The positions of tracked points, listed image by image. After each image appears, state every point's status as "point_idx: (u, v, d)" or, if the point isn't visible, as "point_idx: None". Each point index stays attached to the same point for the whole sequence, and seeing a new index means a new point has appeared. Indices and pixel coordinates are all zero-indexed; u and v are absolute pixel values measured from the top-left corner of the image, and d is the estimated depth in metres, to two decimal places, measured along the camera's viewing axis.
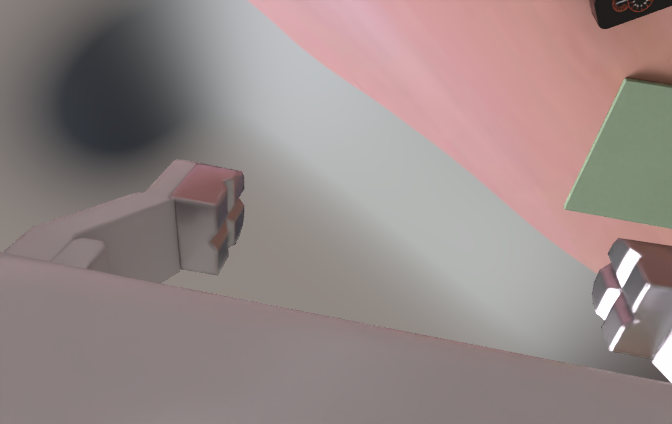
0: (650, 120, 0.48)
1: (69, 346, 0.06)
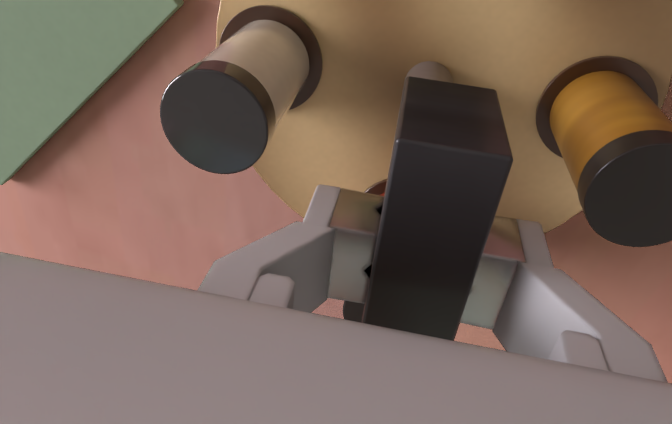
0: None
1: (69, 346, 0.06)
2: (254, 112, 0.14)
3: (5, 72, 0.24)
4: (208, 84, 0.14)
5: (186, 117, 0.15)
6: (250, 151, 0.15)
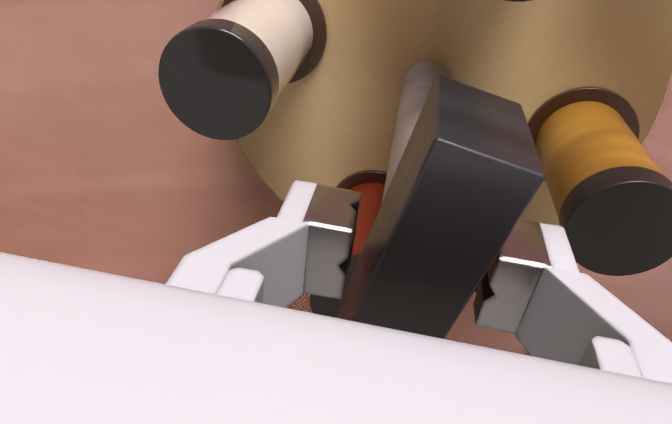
0: None
1: (69, 346, 0.06)
2: (260, 81, 0.14)
3: None
4: (217, 44, 0.14)
5: (187, 74, 0.14)
6: (248, 120, 0.15)
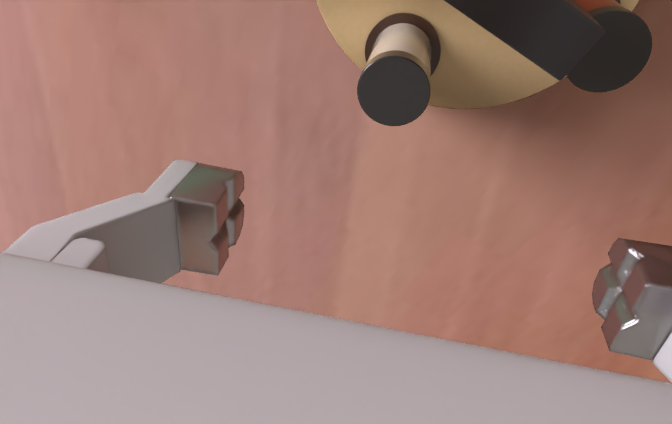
0: None
1: (69, 346, 0.06)
2: (397, 62, 0.22)
3: None
4: (369, 79, 0.23)
5: (381, 105, 0.23)
6: (420, 80, 0.22)
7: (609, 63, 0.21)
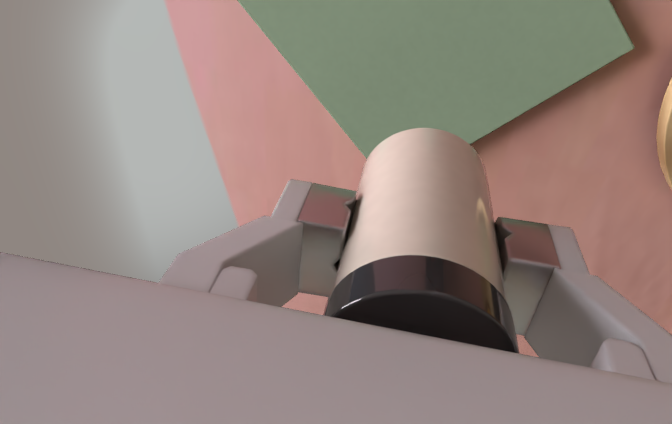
0: None
1: (69, 346, 0.06)
2: (401, 305, 0.08)
3: (446, 98, 0.29)
4: None
5: None
6: (480, 334, 0.08)
7: None
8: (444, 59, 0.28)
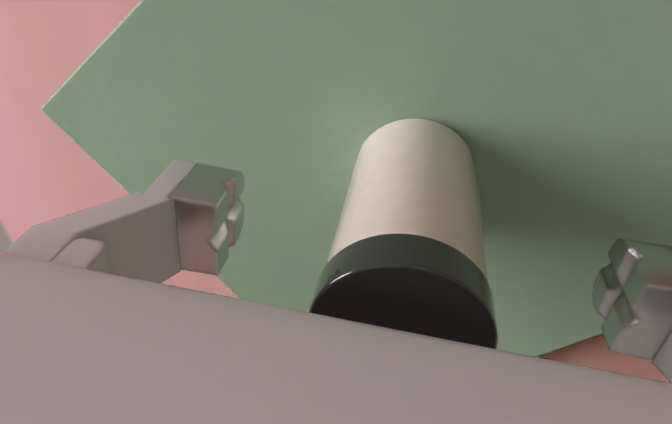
0: None
1: (69, 346, 0.06)
2: (386, 278, 0.08)
3: None
4: None
5: None
6: (459, 306, 0.08)
7: None
8: None
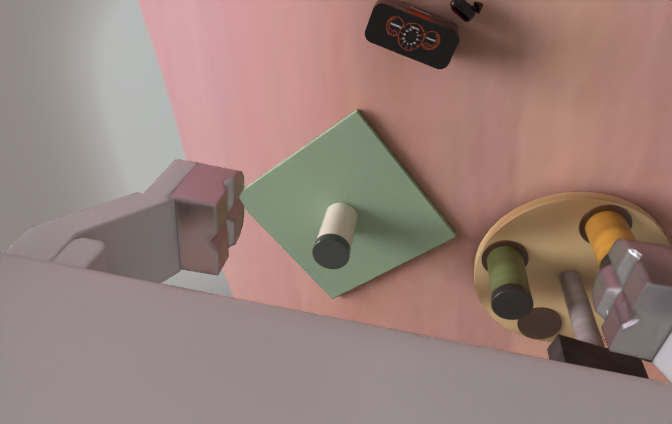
0: (351, 164, 0.46)
1: (69, 346, 0.06)
2: (327, 241, 0.43)
3: (358, 254, 0.51)
4: (316, 251, 0.44)
5: (327, 261, 0.45)
6: (341, 247, 0.43)
7: None
8: (355, 236, 0.50)
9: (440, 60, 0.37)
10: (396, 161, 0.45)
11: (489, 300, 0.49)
